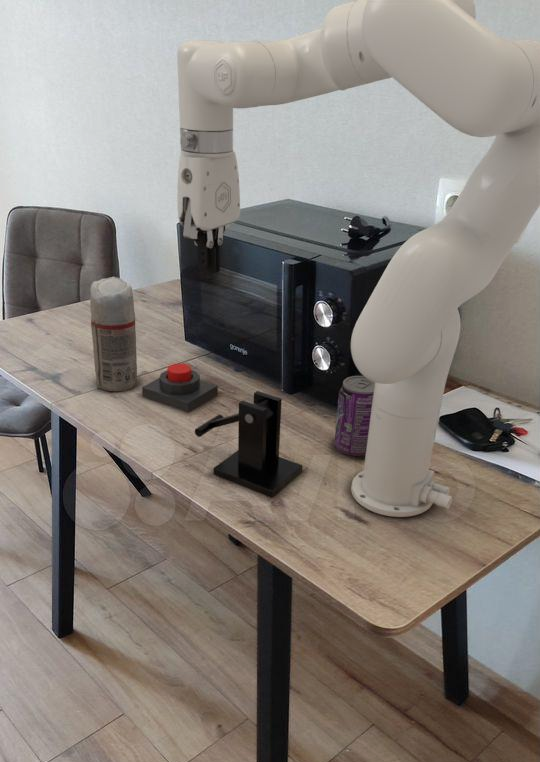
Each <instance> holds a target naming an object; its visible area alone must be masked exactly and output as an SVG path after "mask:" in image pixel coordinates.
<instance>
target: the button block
mask: <svg viewBox="0 0 540 762" xmlns="http://www.w3.org/2000/svg"><path fill="white" fill-rule="evenodd" d="M200 377H201V375H200V374H199V373H198V372H197V371H196V370H193V369H191V380H189V381H186V382H172V381H169V380H168V373H167V370H164V371H163V372H161V373H160V375H159V376H158V378H156V379H154V380H153V381H151V382H149V383H146V384H144V385H143V386H141V394H142V397H143V398H147V399H148V400H152V401H155V402H157V403H160V404H163V405H166V406H168V407H171V408H175V409H178V410H180V411H183V412H186V413H190V412H192V411H193V410H195V409H197V408H198V407H200V406H202V405H203V404H205V403H206V402H209V401H210V400H212V399H213V398H215V397H217V396H218V395H219V394H218V390H219V389H218V387H219V386H218V385H217V384H214V383H212V382H208V381H205V380H203V379H201V378H200Z"/></svg>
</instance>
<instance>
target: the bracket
mask: <svg viewBox="0 0 540 762" xmlns="http://www.w3.org/2000/svg"><path fill="white" fill-rule="evenodd" d="M264 400H268V401H269V404H270V406H271V408H272V411H273V413H274V414H273V415H272V416H270V417H269V418H267V408H264V407H261V406H258V405H255V404H254V403H257V402H261V401H264ZM282 402H283V401H282V398H281V397H278V396H274V395H271V394H268V393H265V392H262V391H260V390H256V391H255V392H253V403H252V402H248V401H245V400H241V401H240V402H238V413H239V421H238V431H237V432H238V434H237V436H238V438H237V439H238V441H237V443H238V445H237V451H235V452H234V453H232V454H230V455H229V456H228V457H227V458H225V459H224V460H222V461H221V462H220V463H218V464H217V465H215V466H214V467H213V475H214V476H217V477H219V478H222V479H225V480H227V481H230V482H232V483H234V484H236V485H240V486H242V487H245V488H247V489H250V490H252V491H255V492H257V493H260V494H262V495H264V496H267V497H270V498H273V497H275V495H277V494H278V493H279V492H280V491H281V490H283V489H284V488H285V487H286V486H287V485H288V484H290V483H291V482H292V481H293V480H294V479H295V478H297V476H299V475H300V474H301V473H302V472H303V464H300V463H297V462H295V461H292V460H289V459H287V458H284V457H281V456H280V442H281V441H280V440H281V439H280V438H281V420H282V419H281V418H282Z"/></svg>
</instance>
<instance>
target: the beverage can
mask: <svg viewBox="0 0 540 762" xmlns="http://www.w3.org/2000/svg"><path fill="white" fill-rule="evenodd" d="M374 388H375V382H373V381H371V380H369V379H367V378H366V377H365V376H364V375H352V376H348V377H346V378H345V379H343V381H342V386H341V388H340V389H339V392H338V399H337V410H336V419H335V429H334V441H333V444H334V446H335V448H336V449H337V450H338V451H340V452H341V453H344V454H345V455H349V456H356V457H360V456H366V448H367V440H368V433H369V425H370V417H371V409H372V401H373V395H374Z"/></svg>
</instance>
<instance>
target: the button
mask: <svg viewBox="0 0 540 762" xmlns="http://www.w3.org/2000/svg"><path fill="white" fill-rule="evenodd" d="M191 370H192V367H191V365H189V364H187V363H173V364H170V365H168V367H167V369H166V371H167V373H168V380H169V381H172V382H186V381H189V380H191Z"/></svg>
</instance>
